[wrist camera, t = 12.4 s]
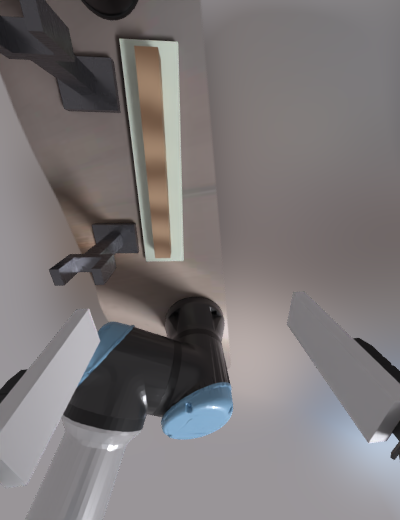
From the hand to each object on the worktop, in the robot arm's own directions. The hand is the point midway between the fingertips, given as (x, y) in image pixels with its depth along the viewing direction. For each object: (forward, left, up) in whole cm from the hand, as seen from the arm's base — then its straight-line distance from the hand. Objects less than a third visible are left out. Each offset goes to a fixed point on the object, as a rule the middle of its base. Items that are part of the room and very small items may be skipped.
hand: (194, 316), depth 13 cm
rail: (+8, +5, -28) cm, 29 cm away
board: (+8, +5, -29) cm, 30 cm away
